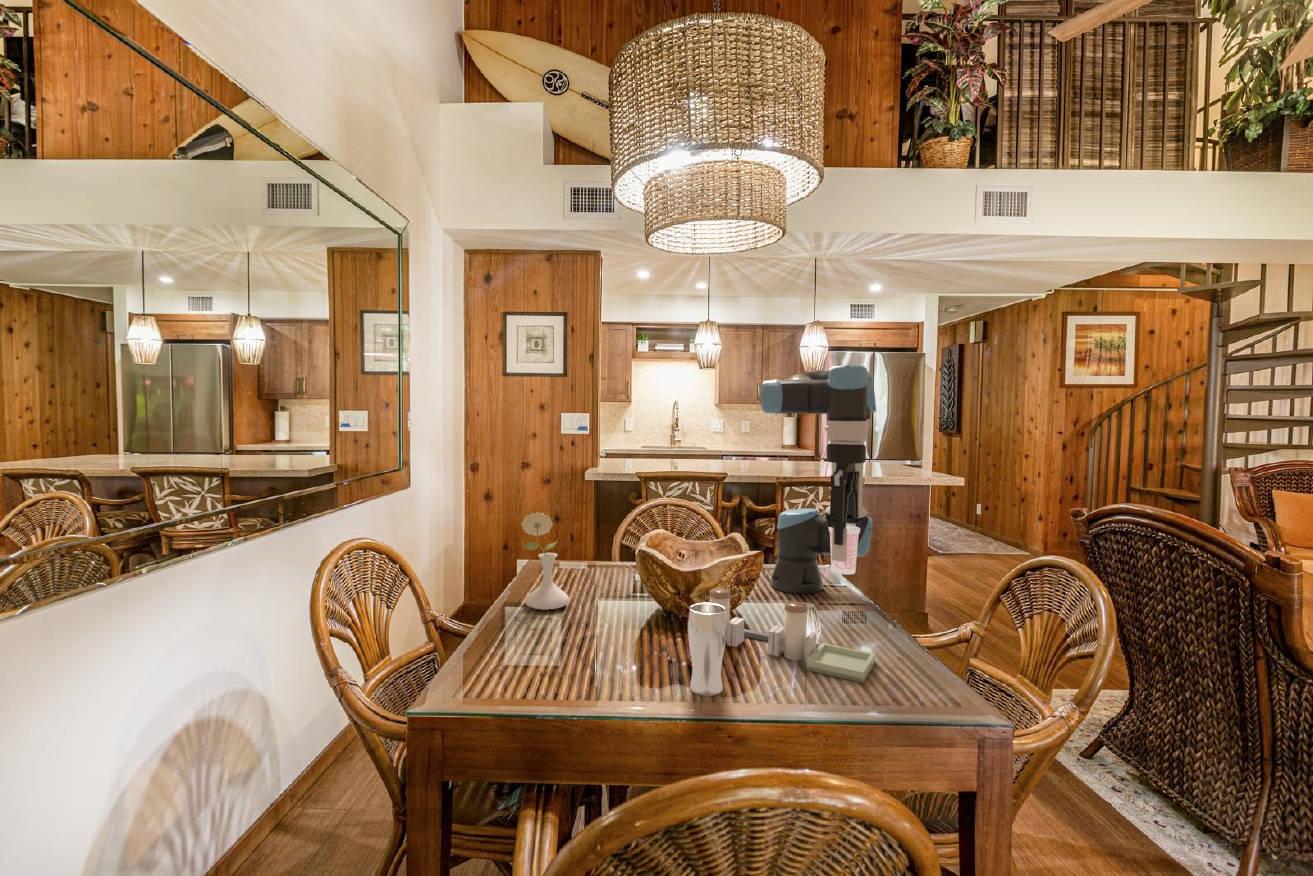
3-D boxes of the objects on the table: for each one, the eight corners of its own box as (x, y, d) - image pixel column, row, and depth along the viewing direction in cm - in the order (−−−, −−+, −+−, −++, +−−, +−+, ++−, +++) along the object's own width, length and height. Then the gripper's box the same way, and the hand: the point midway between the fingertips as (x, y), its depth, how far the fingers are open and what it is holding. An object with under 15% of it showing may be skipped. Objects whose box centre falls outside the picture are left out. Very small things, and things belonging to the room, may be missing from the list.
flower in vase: (574, 601, 162) (575, 509, 161) (561, 615, 151) (562, 516, 150) (528, 598, 164) (529, 508, 163) (512, 612, 153) (513, 514, 152)
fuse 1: (714, 634, 139) (715, 587, 138) (732, 638, 136) (733, 590, 136) (705, 640, 135) (706, 592, 134) (724, 644, 132) (724, 595, 132)
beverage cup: (844, 577, 117) (846, 505, 116) (821, 570, 122) (822, 501, 121) (865, 573, 120) (867, 503, 119) (842, 566, 125) (843, 499, 125)
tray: (821, 652, 129) (822, 642, 129) (875, 663, 123) (875, 653, 123) (806, 669, 120) (806, 659, 119) (863, 683, 114) (863, 672, 114)
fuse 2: (787, 650, 130) (788, 600, 129) (808, 655, 127) (809, 603, 127) (780, 657, 126) (781, 605, 125) (801, 662, 123) (803, 609, 123)
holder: (714, 627, 143) (714, 607, 143) (822, 650, 130) (823, 628, 129) (698, 638, 136) (698, 616, 136) (811, 664, 122) (811, 640, 122)
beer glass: (685, 680, 114) (686, 602, 113) (721, 680, 114) (722, 602, 114) (690, 697, 107) (691, 614, 106) (728, 697, 107) (729, 614, 107)
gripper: (839, 441, 130) (837, 547, 131) (813, 443, 114) (811, 564, 114) (875, 442, 126) (873, 551, 127) (854, 444, 110) (851, 569, 111)
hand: (843, 557), depth 121 cm, fingers closed on beverage cup, 6 cm apart
